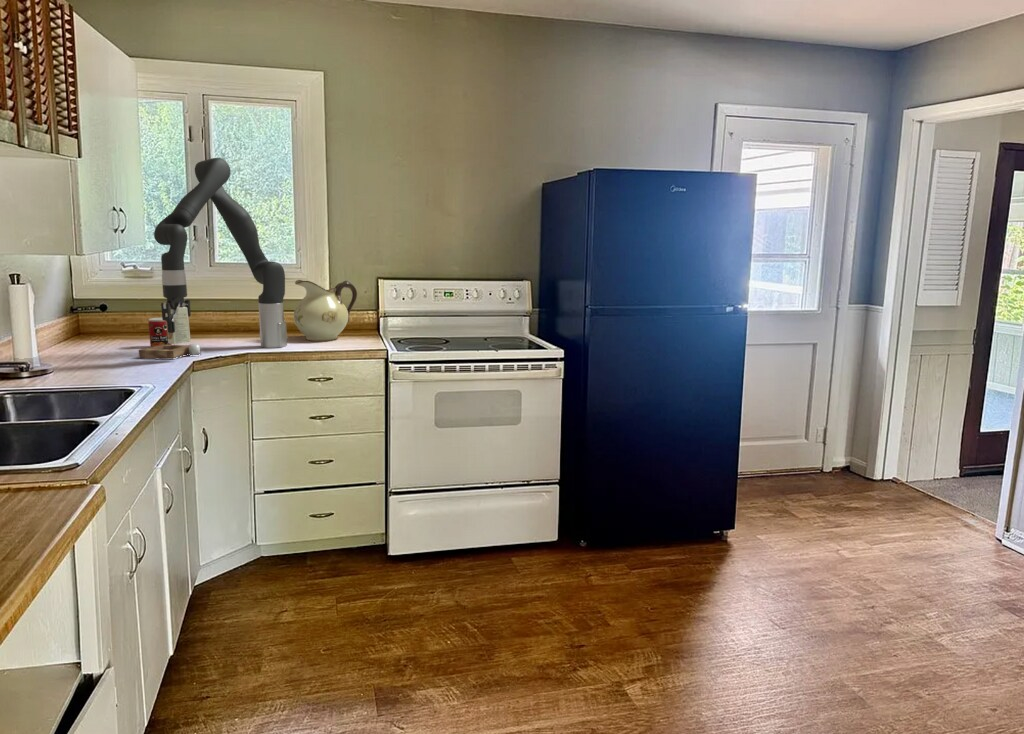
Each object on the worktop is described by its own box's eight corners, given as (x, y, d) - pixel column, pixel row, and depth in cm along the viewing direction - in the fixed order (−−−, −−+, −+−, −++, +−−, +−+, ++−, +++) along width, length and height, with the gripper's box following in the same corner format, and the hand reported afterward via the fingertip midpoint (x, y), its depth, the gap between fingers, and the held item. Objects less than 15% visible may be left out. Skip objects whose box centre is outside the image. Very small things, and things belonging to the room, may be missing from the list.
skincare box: (184, 341, 264) (182, 306, 261) (191, 342, 261) (188, 307, 259) (166, 343, 259) (164, 307, 257) (173, 344, 256) (170, 308, 254)
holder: (195, 353, 277) (194, 345, 277) (174, 359, 264) (173, 350, 263) (161, 352, 279) (161, 344, 278) (139, 358, 265) (138, 350, 265)
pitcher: (283, 340, 312) (281, 280, 307) (315, 334, 334) (313, 277, 330) (330, 344, 305) (329, 282, 301) (359, 337, 327) (359, 279, 323)
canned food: (148, 348, 288) (146, 320, 286) (152, 345, 296) (150, 317, 294) (170, 347, 290) (168, 319, 288) (173, 345, 298) (171, 317, 296)
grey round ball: (202, 354, 274) (201, 344, 274) (197, 356, 271) (196, 345, 270) (192, 354, 275) (192, 343, 274) (187, 356, 271) (186, 345, 270)
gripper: (173, 285, 249) (176, 334, 252) (195, 282, 263) (199, 328, 266) (151, 284, 250) (155, 333, 253) (175, 282, 264) (179, 328, 267)
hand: (178, 331), depth 259 cm, fingers closed on skincare box, 7 cm apart
